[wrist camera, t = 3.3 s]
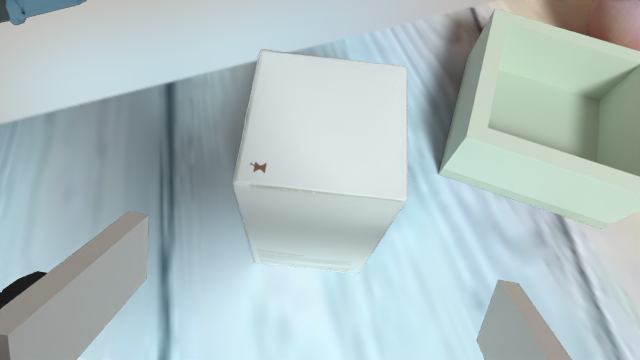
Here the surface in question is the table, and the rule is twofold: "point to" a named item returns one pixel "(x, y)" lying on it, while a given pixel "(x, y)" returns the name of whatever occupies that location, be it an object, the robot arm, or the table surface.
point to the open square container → (549, 121)
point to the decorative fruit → (616, 22)
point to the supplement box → (322, 160)
